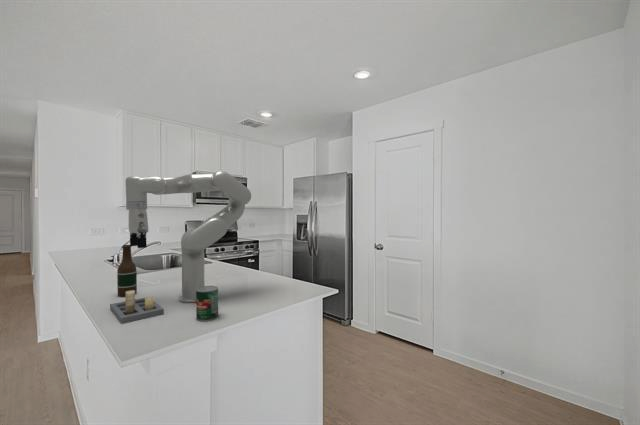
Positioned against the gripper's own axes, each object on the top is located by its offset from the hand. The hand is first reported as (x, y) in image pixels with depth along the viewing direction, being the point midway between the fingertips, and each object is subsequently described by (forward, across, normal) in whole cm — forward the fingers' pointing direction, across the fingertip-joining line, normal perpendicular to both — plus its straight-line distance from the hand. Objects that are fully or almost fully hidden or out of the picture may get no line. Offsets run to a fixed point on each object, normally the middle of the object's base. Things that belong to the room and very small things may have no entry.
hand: (138, 246), depth 125 cm
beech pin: (+25, -12, +7) cm, 29 cm away
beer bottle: (+25, +23, -1) cm, 34 cm away
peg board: (+25, -6, +3) cm, 26 cm away
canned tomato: (+26, -34, -13) cm, 44 cm away
